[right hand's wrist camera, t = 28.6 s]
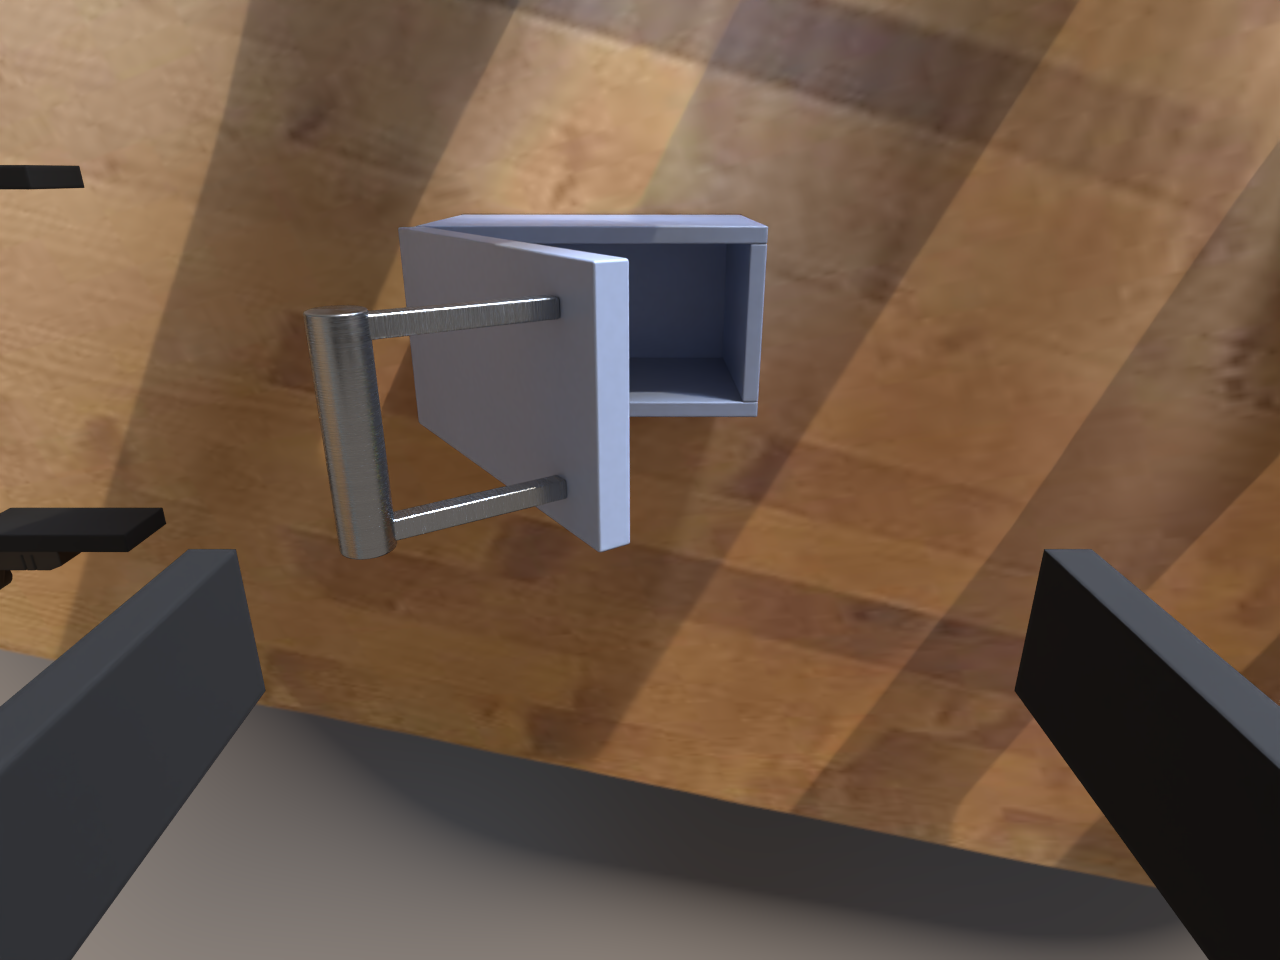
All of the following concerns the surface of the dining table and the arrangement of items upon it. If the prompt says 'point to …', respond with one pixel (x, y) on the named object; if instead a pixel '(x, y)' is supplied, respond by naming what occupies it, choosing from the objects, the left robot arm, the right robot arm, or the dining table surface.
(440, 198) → the dining table surface
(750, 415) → the chest
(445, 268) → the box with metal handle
